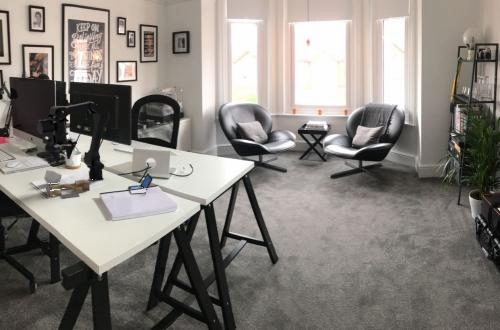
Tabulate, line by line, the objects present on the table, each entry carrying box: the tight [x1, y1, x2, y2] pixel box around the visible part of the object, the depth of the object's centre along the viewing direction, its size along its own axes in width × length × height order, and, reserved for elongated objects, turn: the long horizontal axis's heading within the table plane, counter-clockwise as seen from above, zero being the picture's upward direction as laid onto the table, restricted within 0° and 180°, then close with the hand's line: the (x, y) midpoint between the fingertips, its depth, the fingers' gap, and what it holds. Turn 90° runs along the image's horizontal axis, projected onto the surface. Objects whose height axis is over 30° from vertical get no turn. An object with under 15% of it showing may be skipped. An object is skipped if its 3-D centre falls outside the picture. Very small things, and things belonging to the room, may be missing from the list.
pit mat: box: [60, 192, 80, 199], centre depth 210 cm, size 8×6×1 cm
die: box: [43, 168, 63, 184], centre depth 230 cm, size 8×9×10 cm
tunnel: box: [45, 182, 83, 198], centre depth 216 cm, size 16×11×3 cm
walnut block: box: [74, 179, 91, 192], centre depth 220 cm, size 6×6×4 cm
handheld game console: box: [127, 173, 154, 190], centre depth 221 cm, size 12×11×7 cm
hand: (63, 161), depth 223 cm, fingers open, 9 cm apart
